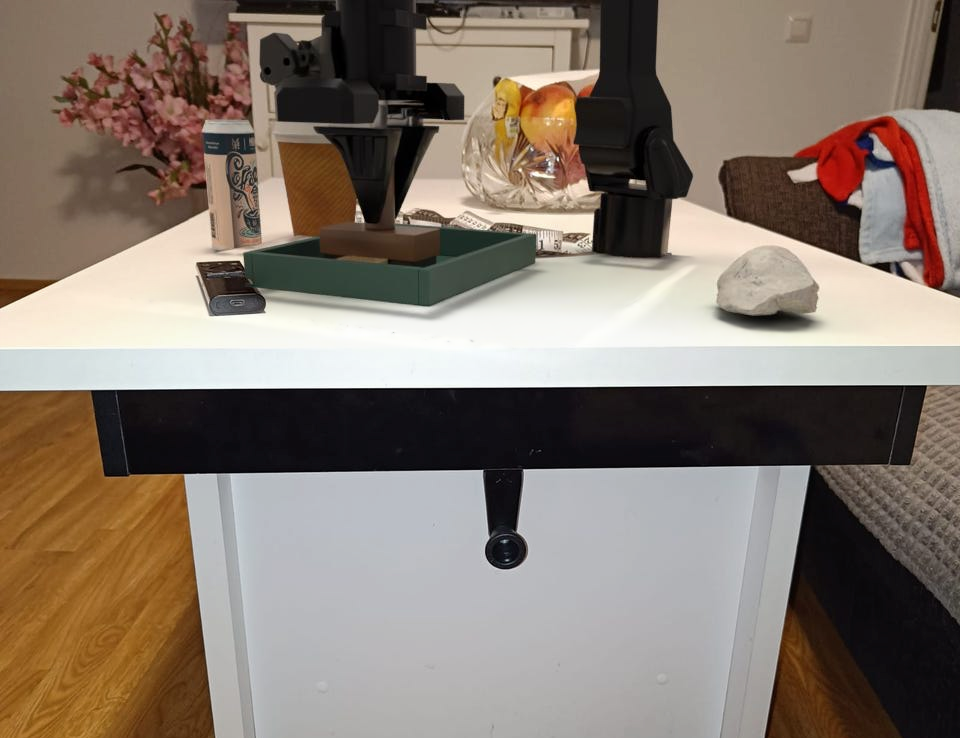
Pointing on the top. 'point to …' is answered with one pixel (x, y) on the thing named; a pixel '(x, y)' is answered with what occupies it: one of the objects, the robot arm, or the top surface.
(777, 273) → the grey stone
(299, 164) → the disposable coffee cup
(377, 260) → the tan square block
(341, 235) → the scrub brush
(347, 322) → the top surface
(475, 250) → the tray
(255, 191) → the coffee drink can
